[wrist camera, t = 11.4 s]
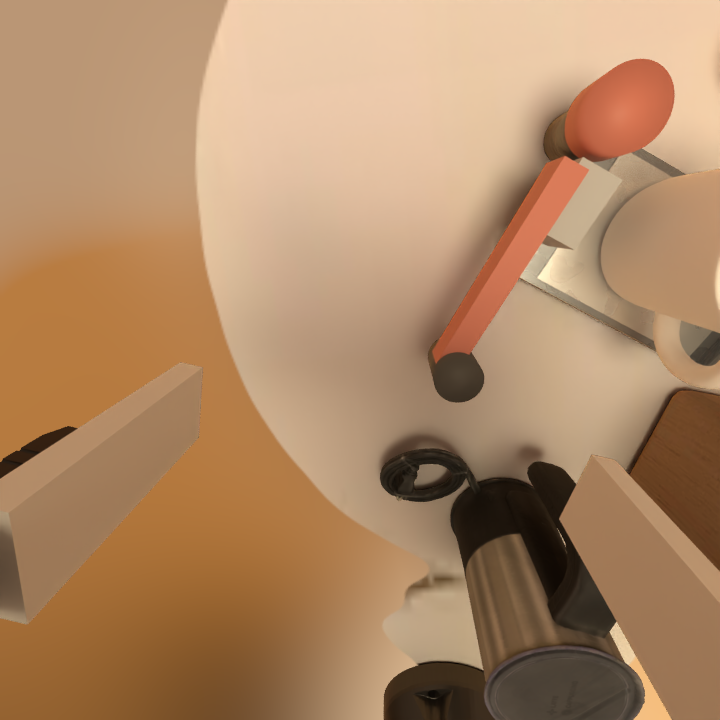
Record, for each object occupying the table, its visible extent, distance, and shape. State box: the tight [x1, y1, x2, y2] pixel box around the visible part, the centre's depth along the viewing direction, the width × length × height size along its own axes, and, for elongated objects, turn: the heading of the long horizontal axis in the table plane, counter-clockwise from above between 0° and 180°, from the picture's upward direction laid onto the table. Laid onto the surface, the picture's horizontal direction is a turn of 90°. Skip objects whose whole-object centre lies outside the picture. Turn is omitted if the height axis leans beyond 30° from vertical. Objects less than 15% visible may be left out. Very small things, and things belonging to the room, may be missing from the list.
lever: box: [428, 59, 674, 402], centre depth 23 cm, size 20×4×6 cm, turn 154°
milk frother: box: [380, 449, 645, 720], centre depth 28 cm, size 14×16×15 cm
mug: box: [601, 169, 720, 389], centre depth 21 cm, size 12×8×10 cm
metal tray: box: [519, 110, 720, 366], centre depth 24 cm, size 10×20×6 cm, turn 64°
